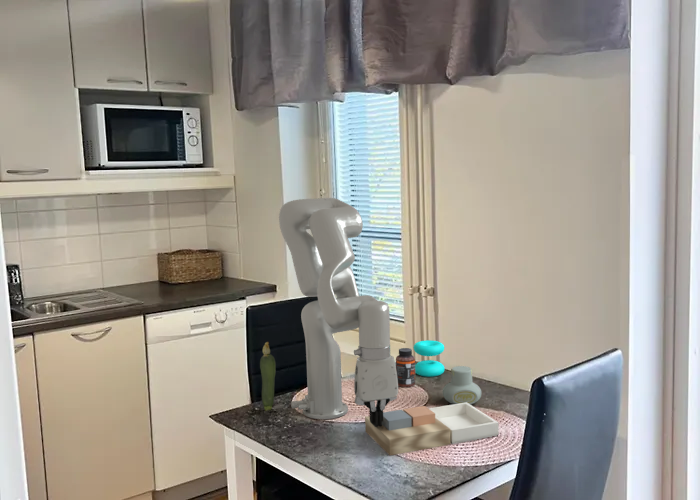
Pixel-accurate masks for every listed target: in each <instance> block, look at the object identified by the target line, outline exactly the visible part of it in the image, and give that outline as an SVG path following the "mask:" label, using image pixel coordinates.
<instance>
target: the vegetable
mask: <svg viewBox="0 0 700 500" xmlns="http://www.w3.org/2000/svg"><path fill="white" fill-rule="evenodd" d="M269 344H270V343H269V341H266V342H265V343H264V345H263V347H262V354H263V355H262V356H261V358H260V360H259V369H260V374H261V375H260V376H261V402H262V406H263V408H264V411H265V412H267V411H271V410H272V409H273V405H274V401H275V400H274V399H275V377H276V370H277V369H276V367H277V364H276V359H275V356H273V355H272V354H271V349H270V345H269Z"/></svg>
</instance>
